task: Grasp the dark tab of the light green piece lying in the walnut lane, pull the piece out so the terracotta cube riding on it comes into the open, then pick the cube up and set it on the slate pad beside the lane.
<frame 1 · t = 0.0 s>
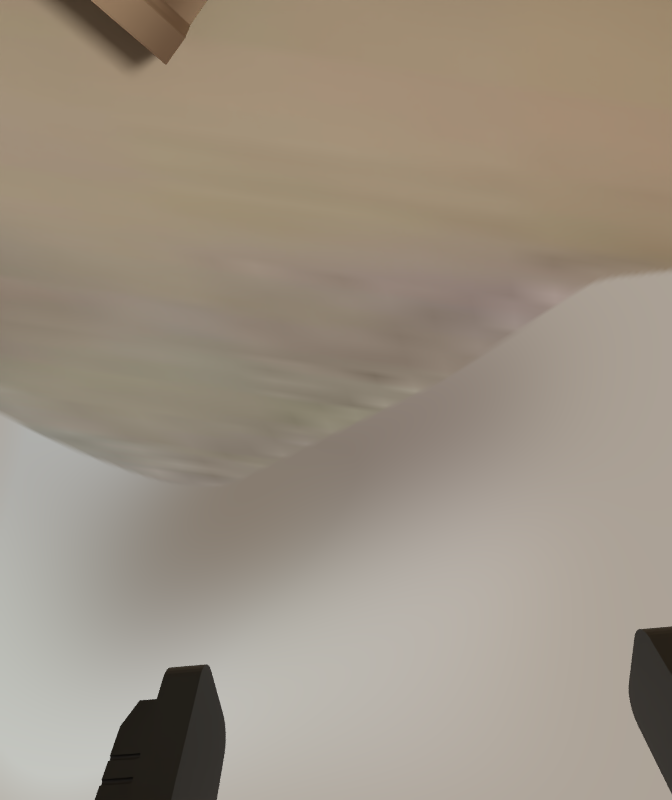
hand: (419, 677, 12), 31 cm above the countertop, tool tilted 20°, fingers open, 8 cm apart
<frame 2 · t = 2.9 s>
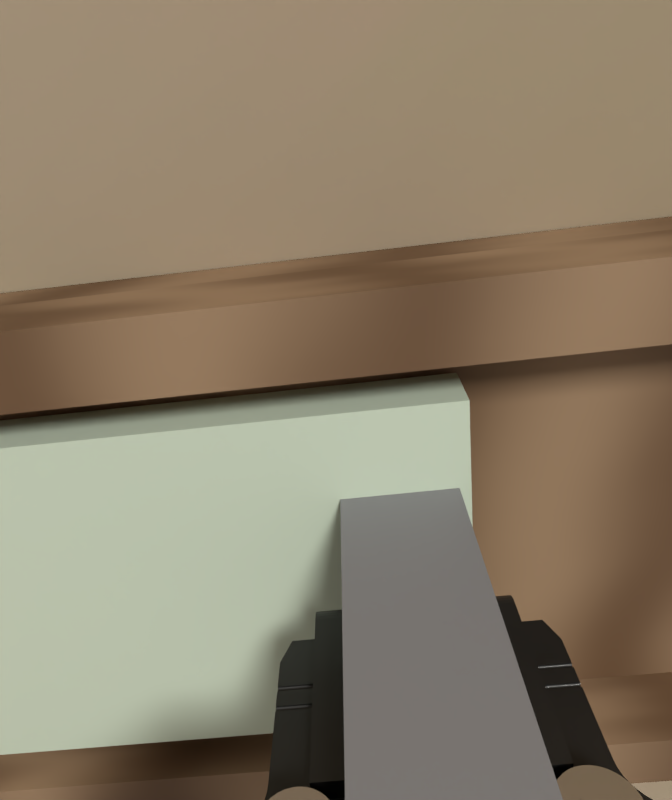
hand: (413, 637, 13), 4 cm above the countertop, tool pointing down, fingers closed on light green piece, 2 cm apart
lane board: (120, 539, 17), on the countertop
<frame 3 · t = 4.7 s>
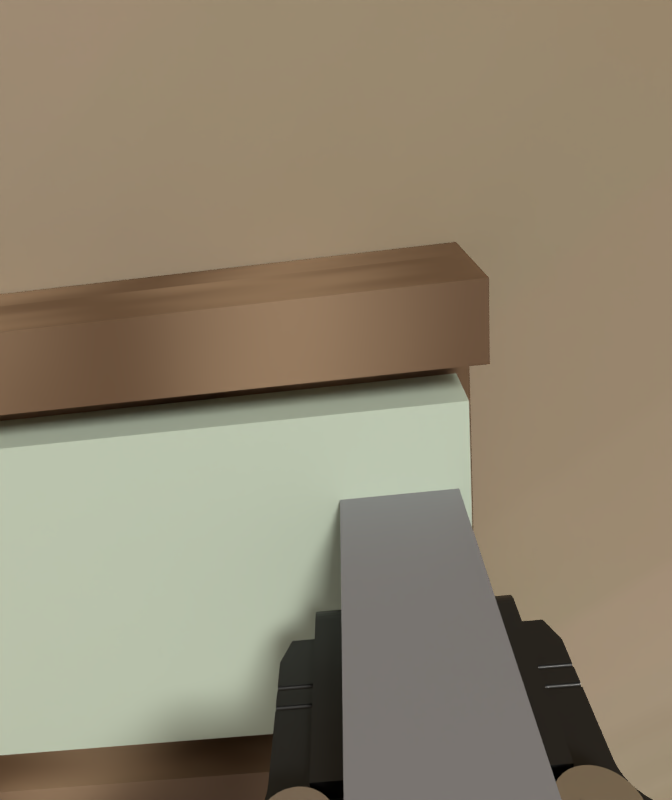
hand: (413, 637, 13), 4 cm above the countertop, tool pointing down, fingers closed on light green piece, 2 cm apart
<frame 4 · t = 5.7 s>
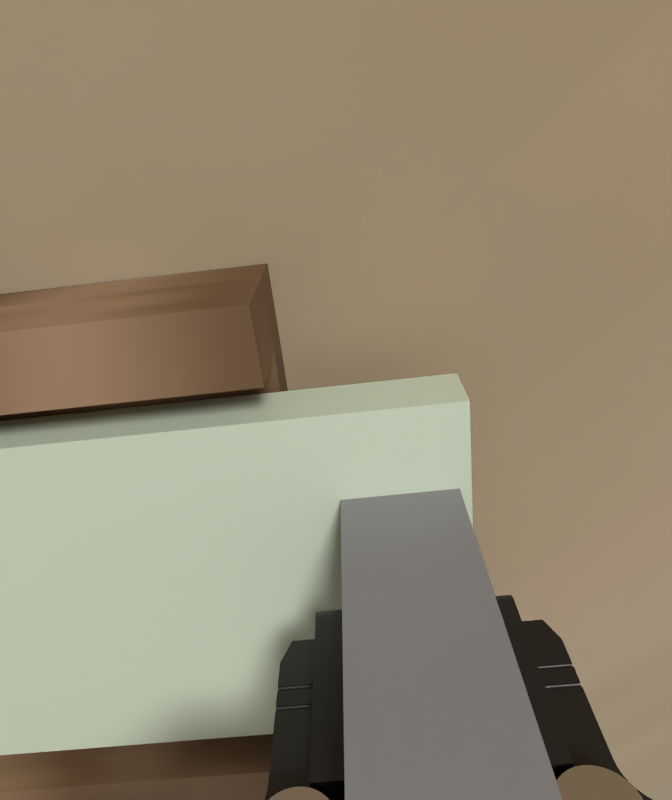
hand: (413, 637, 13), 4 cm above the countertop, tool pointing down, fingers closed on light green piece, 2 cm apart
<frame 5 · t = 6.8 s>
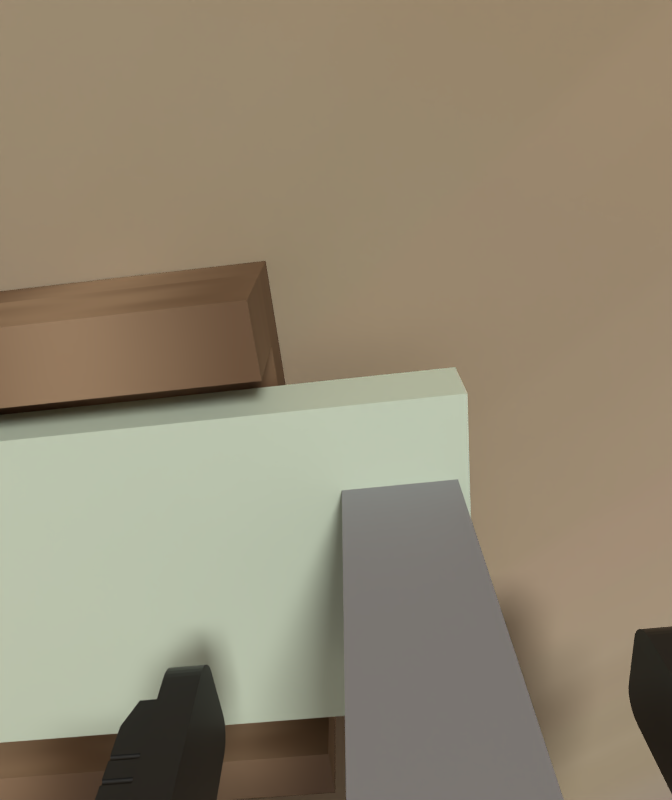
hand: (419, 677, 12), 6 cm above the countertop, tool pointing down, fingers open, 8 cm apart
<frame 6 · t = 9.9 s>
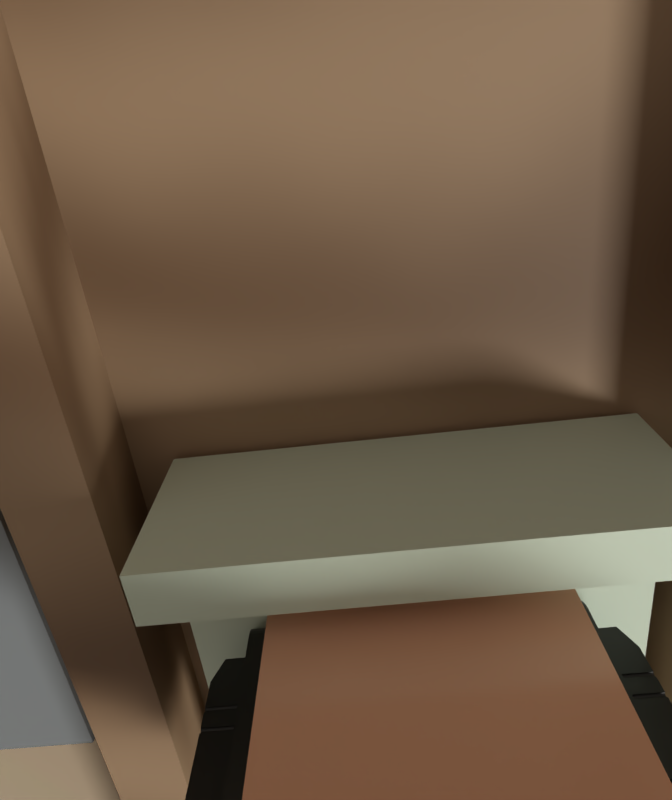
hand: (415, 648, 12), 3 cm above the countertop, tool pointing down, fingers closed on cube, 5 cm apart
cube: (417, 644, 12), point 3 cm above the countertop, touching gripper, light green piece
lane board: (404, 519, 15), on the countertop
when the fingers open (2 cm above the countertop, at t = 15.3 s): cube drops 1 cm, resting on pad.
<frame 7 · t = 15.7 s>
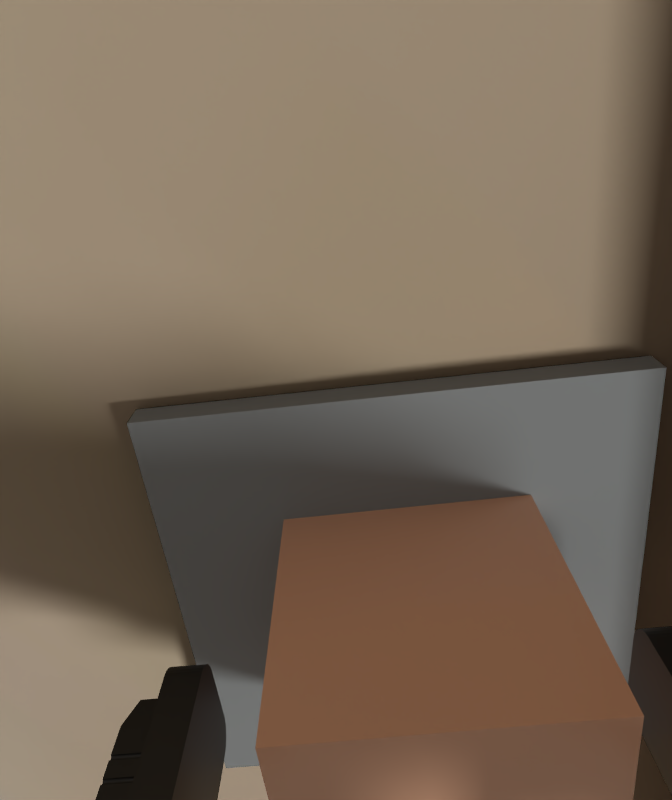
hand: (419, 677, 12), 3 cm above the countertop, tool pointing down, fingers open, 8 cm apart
cube: (414, 601, 14), point 1 cm above the countertop, touching pad
pad: (405, 583, 14), on the countertop
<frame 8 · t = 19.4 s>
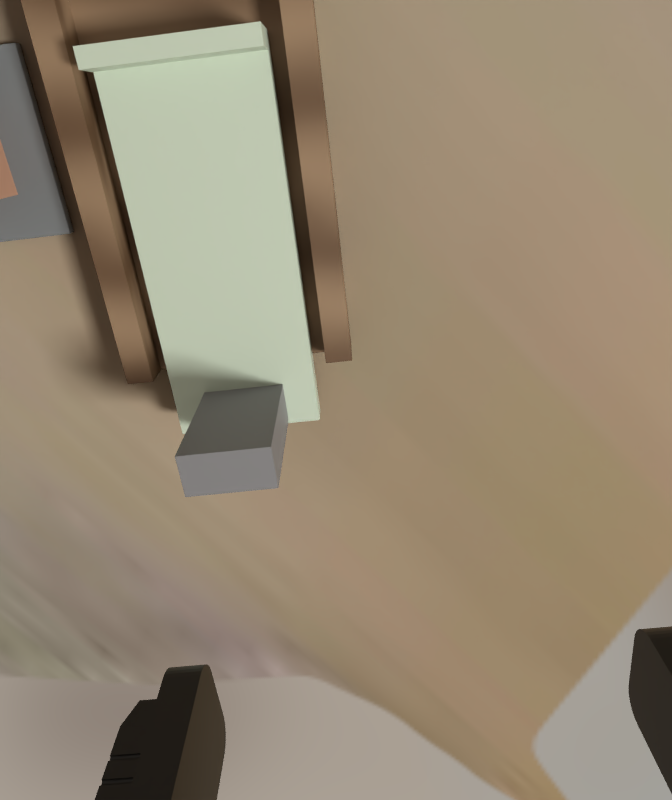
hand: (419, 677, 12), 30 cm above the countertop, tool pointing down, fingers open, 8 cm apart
lane board: (199, 104, 35), on the countertop
light green piece: (207, 271, 33), point 6 cm above the countertop, slide at 10.0 cm
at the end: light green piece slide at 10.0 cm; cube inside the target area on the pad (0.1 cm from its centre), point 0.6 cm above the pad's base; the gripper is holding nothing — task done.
